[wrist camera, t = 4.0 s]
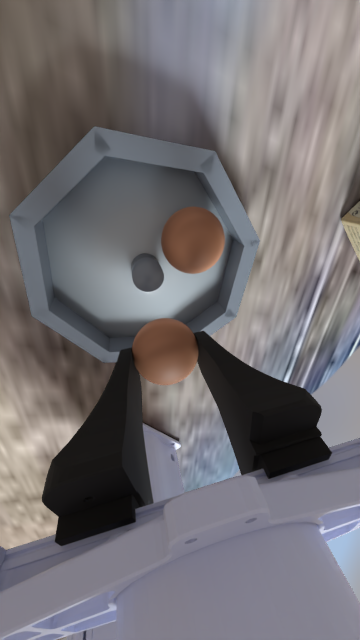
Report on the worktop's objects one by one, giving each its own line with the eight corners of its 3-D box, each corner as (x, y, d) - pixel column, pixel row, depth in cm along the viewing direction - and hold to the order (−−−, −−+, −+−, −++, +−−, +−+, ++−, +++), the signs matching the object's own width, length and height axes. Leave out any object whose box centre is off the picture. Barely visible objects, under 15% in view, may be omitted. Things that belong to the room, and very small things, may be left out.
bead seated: (222, 237, 16) (246, 254, 13) (179, 272, 17) (193, 295, 14) (191, 188, 14) (213, 194, 11) (144, 230, 15) (152, 246, 12)
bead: (199, 330, 16) (220, 371, 13) (156, 362, 16) (166, 408, 13) (164, 294, 14) (180, 332, 10) (116, 332, 14) (117, 379, 11)
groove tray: (263, 271, 19) (281, 284, 17) (137, 365, 22) (140, 386, 20) (156, 72, 12) (165, 51, 10) (-19, 253, 14) (-42, 268, 12)
